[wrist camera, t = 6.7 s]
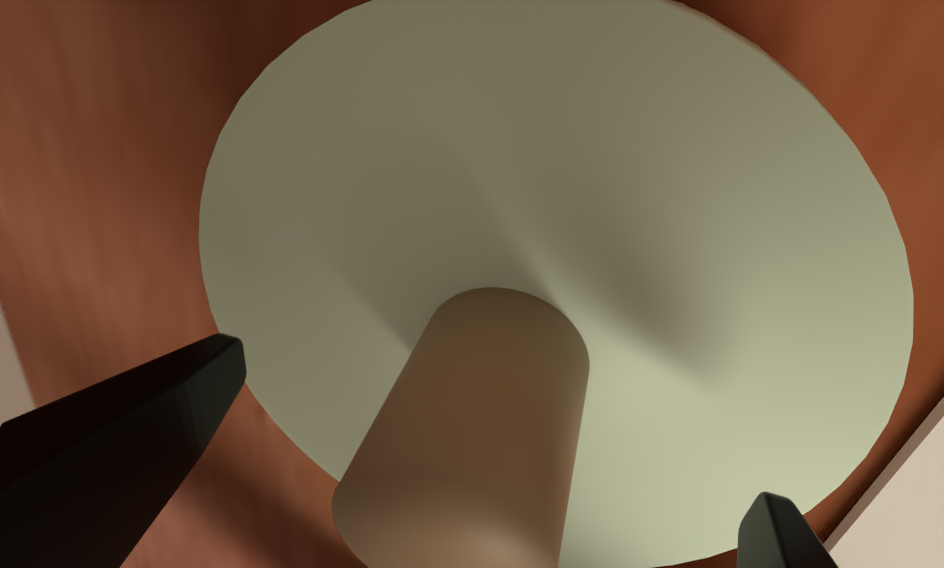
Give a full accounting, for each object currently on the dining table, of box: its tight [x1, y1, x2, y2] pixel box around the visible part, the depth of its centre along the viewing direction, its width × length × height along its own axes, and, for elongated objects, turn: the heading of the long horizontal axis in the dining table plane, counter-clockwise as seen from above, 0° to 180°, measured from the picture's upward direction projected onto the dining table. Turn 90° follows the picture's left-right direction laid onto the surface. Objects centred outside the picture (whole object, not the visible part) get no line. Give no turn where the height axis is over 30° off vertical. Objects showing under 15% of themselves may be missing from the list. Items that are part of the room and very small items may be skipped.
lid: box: [199, 0, 913, 568], centre depth 10 cm, size 13×13×5 cm
